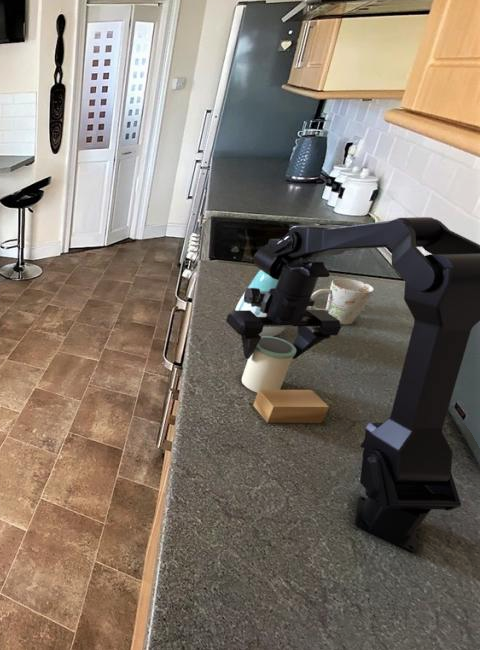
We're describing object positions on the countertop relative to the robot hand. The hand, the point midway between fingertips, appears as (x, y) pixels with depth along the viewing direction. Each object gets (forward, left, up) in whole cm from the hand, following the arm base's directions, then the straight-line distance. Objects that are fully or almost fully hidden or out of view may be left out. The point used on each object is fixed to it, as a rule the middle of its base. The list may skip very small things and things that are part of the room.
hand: (269, 357), depth 89 cm
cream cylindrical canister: (-3, -3, -6) cm, 7 cm away
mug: (+43, -7, -7) cm, 44 cm away
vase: (+24, +6, -7) cm, 25 cm away
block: (-7, -6, -7) cm, 12 cm away
